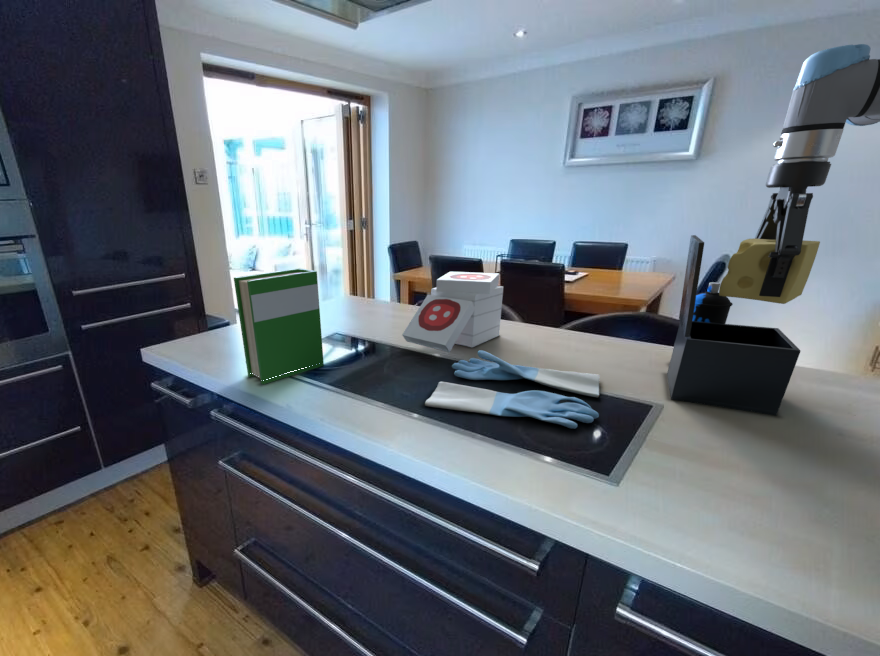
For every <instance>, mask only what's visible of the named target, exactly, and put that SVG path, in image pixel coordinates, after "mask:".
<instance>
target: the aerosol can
mask: <svg viewBox="0 0 880 656" xmlns="http://www.w3.org/2000/svg"><path fill="white" fill-rule="evenodd" d="M720 285H721V282H716V281H715V282H714V281H712V282H709V283H708V287H707V291H705V292H699V293H697V294H696V301H695V307H694V313H693V320H692V321H697V322H709V323H721V324H727V320H728V316H729V312H730V310H731V307H732V306H733V304H734V303H733V302H732V301H731V300H730V299H729V297H725V296H719V289H720Z"/></svg>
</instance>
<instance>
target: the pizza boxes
mask: <svg viewBox="0 0 880 656" xmlns="http://www.w3.org/2000/svg"><path fill="white" fill-rule="evenodd" d="M499 282H500V273H497V272H474V271H473V272H471V271H470V272H469V271H449V272H446V273H445V274H444V275H442V276H440V277H439V278H437V279H436V287H433V288H431V289H430V294H427V295H426V296H425V298H424V300H423V301H422V303H420V305H419V307H418V309H417V311H416V312H415V314H414V316H413V317H412V319H411V321H409V323H408V325H407V326H406V328H405V329H404V330H403V332H402V334H401V336H402V337H403V339H404V340H405V342H407V343H410V344H415V345H418V346H422V347H427V348H431V349H434V350H438V351H443V352H447V353H450V352H451V351H452V349H453V347H454V345H455V344H456V345H461V346H464V347H468V348H474V347H476V346H479V345H481V344H483V343H485V342H488V341H490V340H492V339H495V338H497V337H499V336H500V331H501V330H500V329H501V317H502V307H503V296H504V285H503V286H502V285H499V284H500V283H499Z"/></svg>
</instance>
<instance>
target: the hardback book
mask: <svg viewBox="0 0 880 656" xmlns="http://www.w3.org/2000/svg"><path fill="white" fill-rule="evenodd" d="M233 283H234V289H235V296H236V303H237V310H238V317H239V318H238V319H239V323H240V331H241V337H242V338H241V339H242V344H243V351H244V358H245V365H246V371H247V372H246V373H247V377H249V378H253V377H257V378H259V379H260V384H261V385H266V384H270V383H272V382H276V381H279V380H282V379H285V378H289V377H292V376H295V375H298V374H302V373H304V372H307V371H311V370H315V369H318V368H321V367H324V366H325V364H324V363H325V362H324V349H323V337H322V324H321V309H320V296H319V284H318V283H319V282H318V271H317V270H312V269H306V268H301V267H299V268H292V269H291V268H290V269H285V270H278V271H270V272H265V273H263V272H262V273H256V274H250V275H243V276H242V275H241V276H237V277H233ZM319 363H320V364H319ZM316 364H317V365H316ZM312 365H313V366H312ZM309 366H310V367H309ZM305 367H307V368H305ZM301 368H304V369H301ZM298 369H300V370H298ZM294 370H297V371H294ZM290 371H294V372H290ZM287 372H290V373H287ZM250 373H251V374H250ZM252 373H253V374H252ZM284 373H287V374H284ZM254 374H255V375H254ZM281 374H284V375H281ZM256 375H257V376H256ZM279 375H281V376H279ZM258 376H259V377H258ZM275 376H277V377H275ZM272 377H274V378H272ZM269 378H271V379H269ZM266 379H268V380H266ZM261 380H262V381H261ZM263 380H264V381H263Z"/></svg>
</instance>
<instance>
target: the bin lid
mask: <svg viewBox="0 0 880 656" xmlns="http://www.w3.org/2000/svg"><path fill="white" fill-rule="evenodd" d="M704 248H705V241H703V240H702V239H701V238H700V237H698V236H697V235H696V234H694V235H693V234H692V235H690V238H689V247H688V253H687V258H686V259H687V260H686V267H685V274H684V281H683V287H682V293H681V295H682V296H681V301H680V306H679V307H680V308H679V314H678V319H679V324H680V323H681V326H682V329H683V332H684V335H685V337H690V333H691V326H692V320H693V313H694V307H695V301H696V295H697V294H698V287H699V280H700V274H701V267H702V263H703V262H702V261H703V255H704V250H705V249H704Z"/></svg>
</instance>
